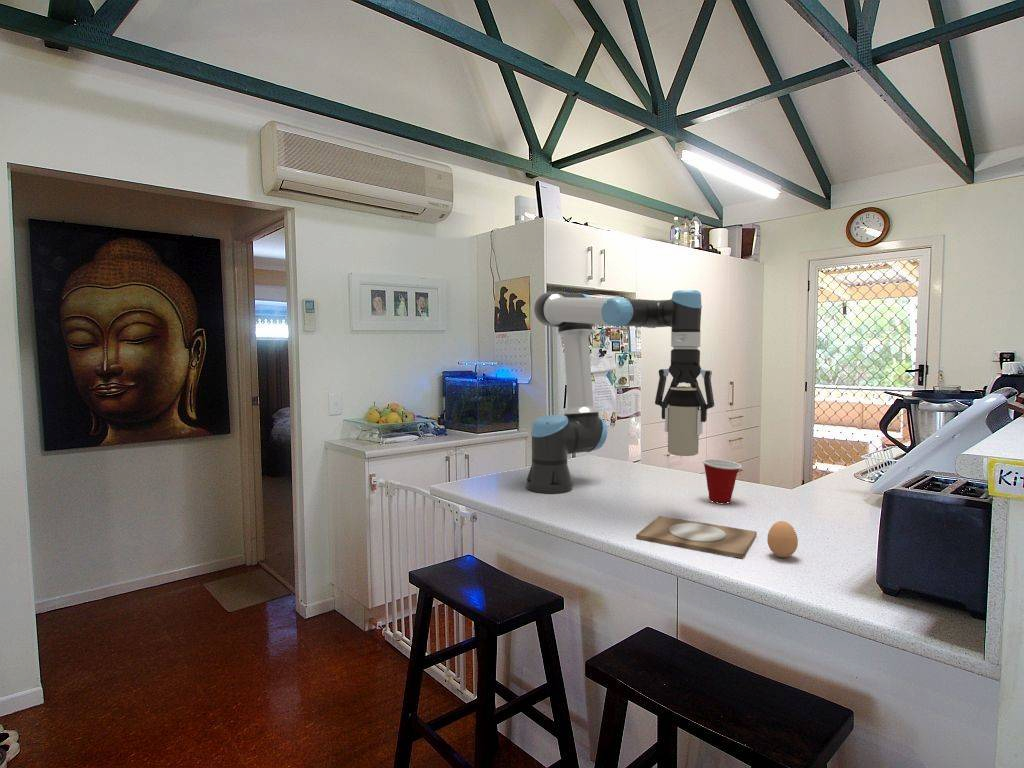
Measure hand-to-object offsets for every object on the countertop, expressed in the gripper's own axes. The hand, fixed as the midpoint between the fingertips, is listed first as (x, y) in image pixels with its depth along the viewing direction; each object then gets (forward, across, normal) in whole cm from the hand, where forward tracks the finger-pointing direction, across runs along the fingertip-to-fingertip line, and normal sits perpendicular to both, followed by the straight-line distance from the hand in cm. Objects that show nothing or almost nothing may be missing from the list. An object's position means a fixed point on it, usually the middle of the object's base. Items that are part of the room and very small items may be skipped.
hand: (683, 432), depth 152 cm
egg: (+23, +27, -19) cm, 40 cm away
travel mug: (+6, 0, 0) cm, 6 cm away
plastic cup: (+23, +6, +20) cm, 31 cm away
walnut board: (+23, +8, -16) cm, 29 cm away
